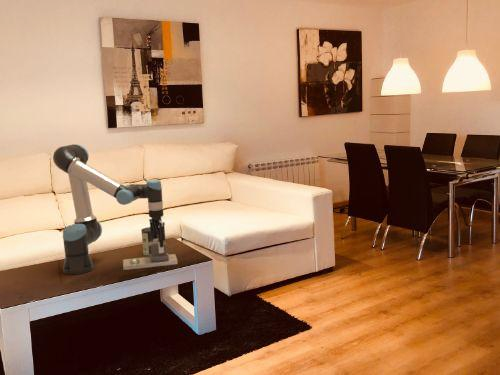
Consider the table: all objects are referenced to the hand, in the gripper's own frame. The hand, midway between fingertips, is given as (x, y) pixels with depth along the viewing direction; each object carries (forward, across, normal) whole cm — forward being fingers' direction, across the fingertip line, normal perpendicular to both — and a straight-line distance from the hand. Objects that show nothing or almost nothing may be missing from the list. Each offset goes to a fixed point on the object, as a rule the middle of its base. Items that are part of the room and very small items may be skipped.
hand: (158, 251), depth 273 cm
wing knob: (+4, 0, 0) cm, 4 cm away
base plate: (+6, +2, +5) cm, 8 cm away
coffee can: (+6, +20, -5) cm, 21 cm away
